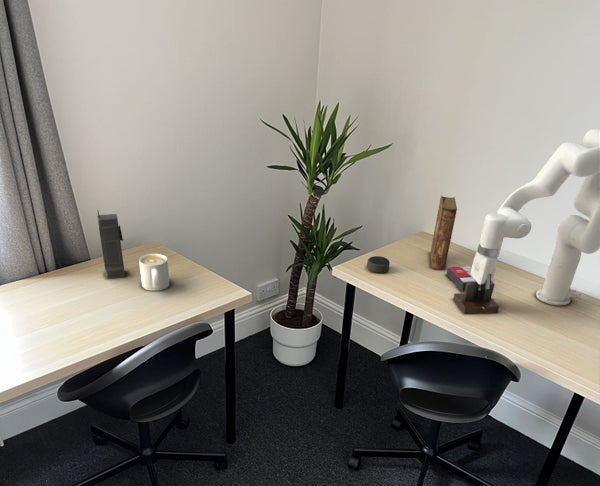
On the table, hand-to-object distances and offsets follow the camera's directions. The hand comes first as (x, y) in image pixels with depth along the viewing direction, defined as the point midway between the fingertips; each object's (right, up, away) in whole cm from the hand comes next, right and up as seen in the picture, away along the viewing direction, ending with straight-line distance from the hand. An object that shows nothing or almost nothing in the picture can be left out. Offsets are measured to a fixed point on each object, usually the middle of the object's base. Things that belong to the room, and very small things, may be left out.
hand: (477, 297), depth 222 cm
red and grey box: (+1, +9, +18) cm, 20 cm away
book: (-7, +20, +33) cm, 39 cm away
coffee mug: (-118, +4, +2) cm, 118 cm away
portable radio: (-134, +10, +8) cm, 135 cm away
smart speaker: (-33, +15, +24) cm, 44 cm away
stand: (0, -3, +2) cm, 3 cm away
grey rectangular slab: (0, -1, +1) cm, 1 cm away
